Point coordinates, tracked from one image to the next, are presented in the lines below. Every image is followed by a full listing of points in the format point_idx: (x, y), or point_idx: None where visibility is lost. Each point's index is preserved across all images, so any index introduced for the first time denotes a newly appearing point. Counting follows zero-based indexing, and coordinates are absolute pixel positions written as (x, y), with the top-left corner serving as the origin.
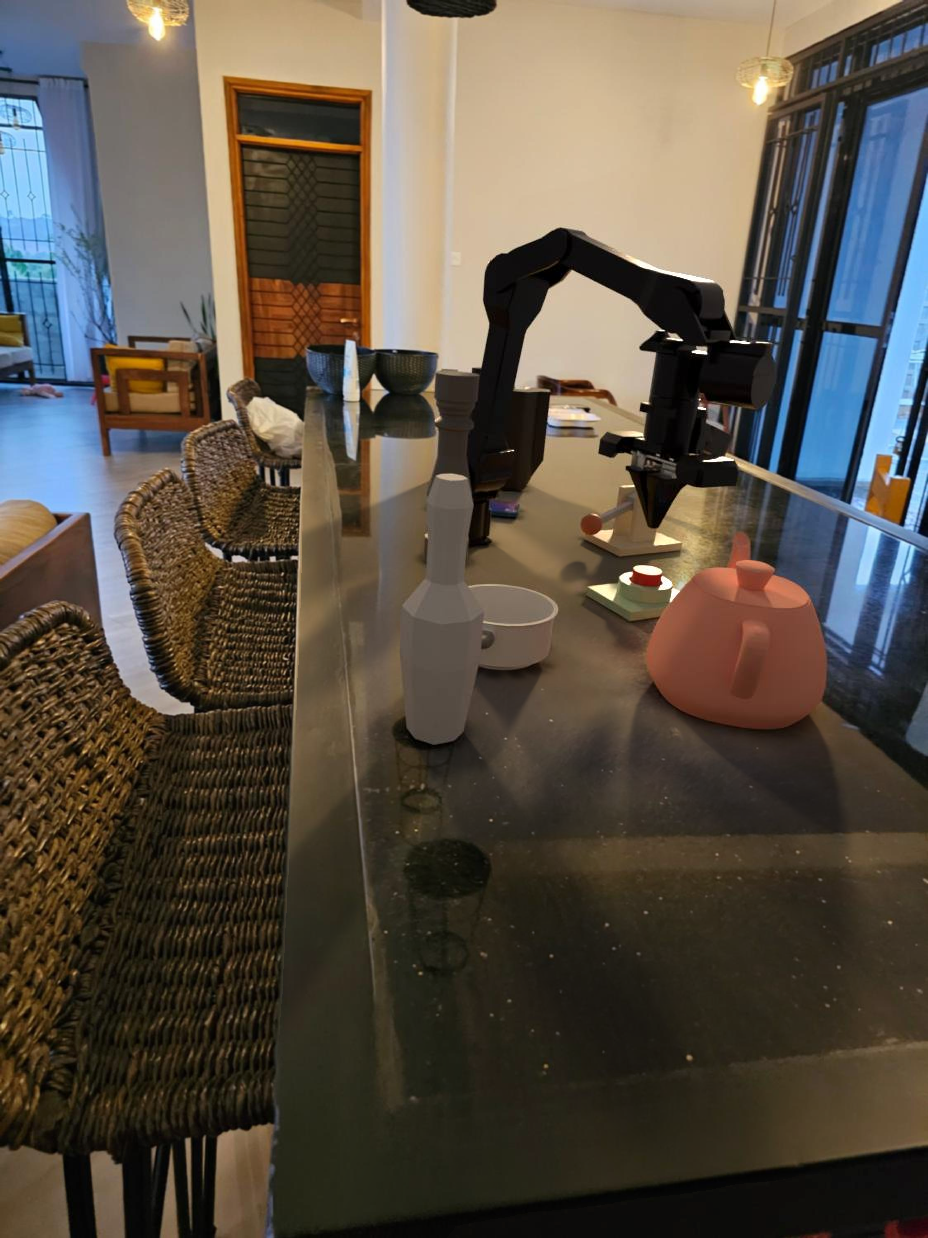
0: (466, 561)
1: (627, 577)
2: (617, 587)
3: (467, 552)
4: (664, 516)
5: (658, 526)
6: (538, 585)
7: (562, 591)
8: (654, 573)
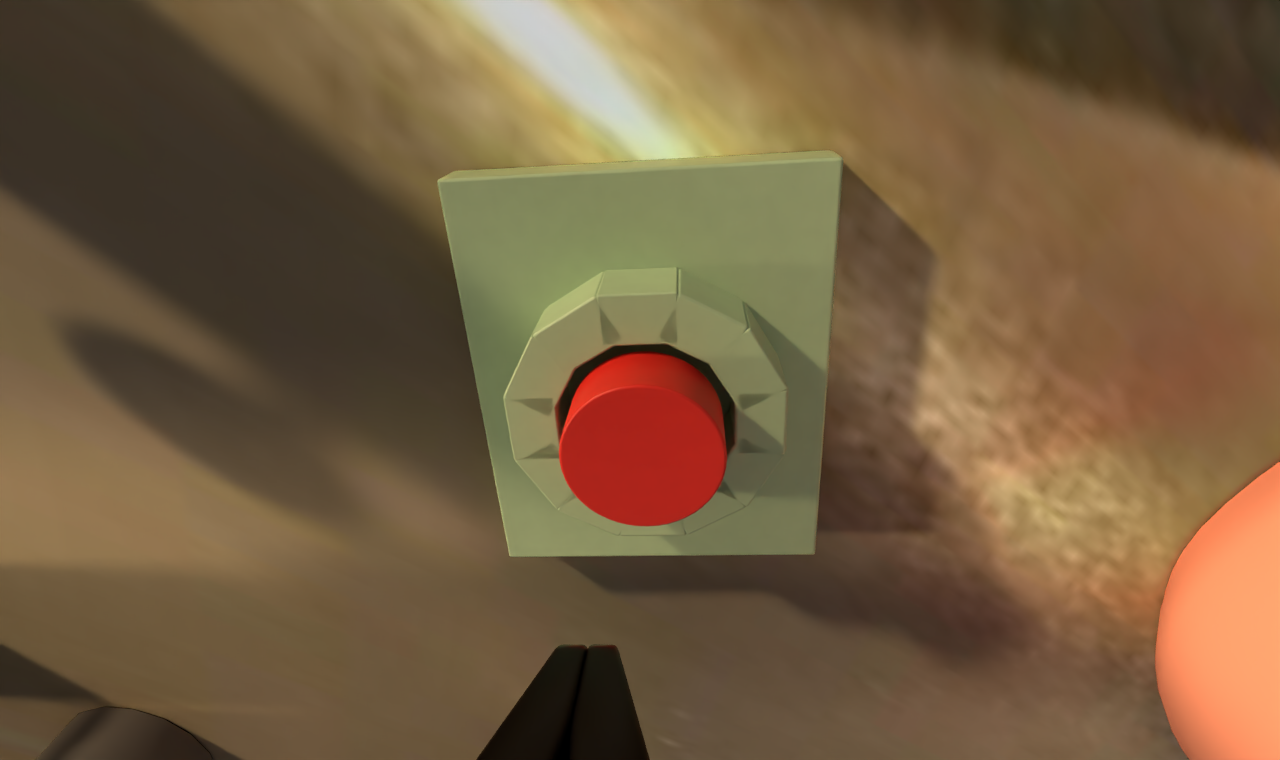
0: (163, 728)
1: None
2: None
3: (137, 758)
4: (641, 736)
5: (618, 658)
6: (393, 623)
7: (463, 582)
8: (705, 461)
